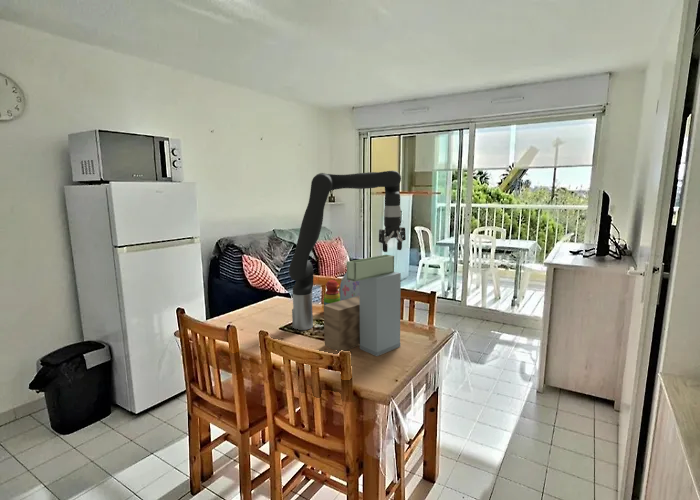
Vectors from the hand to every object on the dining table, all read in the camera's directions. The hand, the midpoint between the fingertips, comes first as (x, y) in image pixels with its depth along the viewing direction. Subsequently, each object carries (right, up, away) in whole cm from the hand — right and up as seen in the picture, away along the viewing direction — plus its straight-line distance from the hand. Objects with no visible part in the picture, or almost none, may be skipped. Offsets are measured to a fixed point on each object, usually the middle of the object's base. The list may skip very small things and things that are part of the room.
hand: (392, 250), depth 176 cm
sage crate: (-11, -10, -22) cm, 27 cm away
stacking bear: (-29, -34, +33) cm, 55 cm away
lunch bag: (-12, -36, +18) cm, 42 cm away
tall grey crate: (-7, -41, -14) cm, 44 cm away
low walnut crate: (-19, -40, -7) cm, 45 cm away
